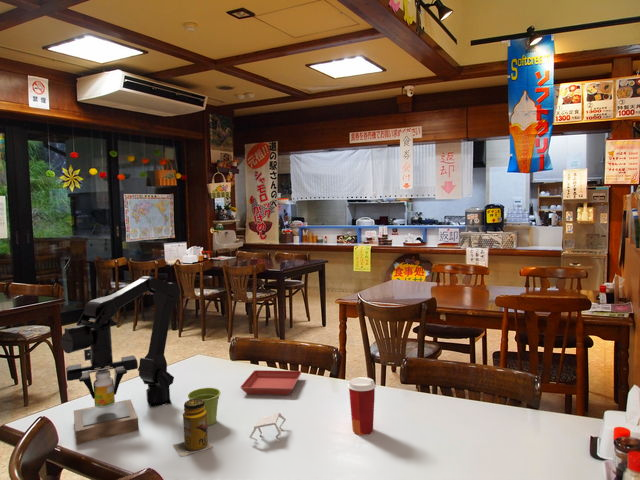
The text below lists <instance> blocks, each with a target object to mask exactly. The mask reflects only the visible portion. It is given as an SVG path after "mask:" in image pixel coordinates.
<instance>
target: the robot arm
mask: <svg viewBox="0 0 640 480" xmlns="http://www.w3.org/2000/svg"><path fill="white" fill-rule="evenodd" d="M147 292H148V293H149V294H152V295H153V296H152V301H153V303H154V307H155V313H154V317H153V325H152V330H151V334H150V339H149V340H150V341H149V346H148V352H147V354H145V356H144V357H141V358H140V359H139V365H138V359H137V357H136V356H135V355H126V356H122V357H120V360H119V361H114V360H113V359H114V358H113V343H112V328H113V327H114V326H115V327H116V326H117V325H118V323H117V322H116V321H114V320H113V319H112V318H113V317H114V316H115V315H117V314H118V312H119V310H120V309H121V308H122V307H123V306H125V305H127V304H128V303H130V302H133V300H135V299H137V298H139V297H141V296H142V295H144V294H145V293H147ZM180 296H181V287H180V286H179V285H178V284H177V283H176V282H168V281H164V280H161V279H158V278H156V277H154V276H148V275H147V276H146V275H145V276H141V277H140V278H138V279H137V280H135V281H134V282H131V283H130V284H128V285H126V286H125V287H123V288H121V289H119V290H117V291H116V292H114V293H112V294H109V295H107V296H100V297H98V298H95V299H94V298H93V299H92V300H89V301H87V303H86V304H85V305H84V310H83V312H82V313H81V316H80V318H79V319H78V321H77V323H76V326H72V327H70V326H69V327H66V328H64V333H63V334H61V335H62V336H61V339H60V346H61V348H62V350H63V352H64V353H66V354H71V353H75V352H79V351H81V350H83V352H84V354H83V355H84V361H85V362H86V361H90V365H89V366H82V364H81V363H79V364H73V365H68V366H67V367H66V368H65V372H66V381H67V382H71V381H77V380H78V382H81V383H84V385H85V386H86V388H87V389H88V391H89V394H90V395H91V398H92V399H93V400H94V386H93V383H92V380H91V374H92V373H96V372H98V371H104V370H109V371H111V370H114V371H113V373H114V379H113V381H114V396H115V395H117V392H118V390H119V389H118V388H119V386H120V383H121V381H122V379H123V377H124V375H125V374H128V371H133V370H137V371H138V376H139V378H140V379H141V380H142V382H143V384H144V385H147V389H146V390H145V392H146V403H147V404H148V405H149V407H150V408H154V407H155V408H156V407H160V406H165V405H169V404H172V401H171V394H170V392H171V390H170V387H171V385H172V384H173V383H174V380H175V379H174V378H175V376H173V375H172V374H171V373H170V372H169V371H168V363H167V360H166V356H165V351H166V345H167V339H168V334H169V327H170V322H171V314H172V310H173V309H174V308H175V306H176V305H177V304H178V301H179V298H180ZM111 327H112V328H111ZM90 373H91V374H90Z"/></svg>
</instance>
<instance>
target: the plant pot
mask: <svg viewBox="0 0 640 480" xmlns="http://www.w3.org/2000/svg"><path fill="white" fill-rule="evenodd" d="M221 393H222V392H221V390H220V389H219V388H215V387H202V388H201V387H200V388H196V389H194V390H191V391H190V392H189V393H188V394H187V398H188V400H191V399H202V400H203V401H204V402H205V410H206V414H207V426H212V425H213V424H215V423H216V421H217V414H218V413H217V412H218V404H219V403H218V402H219V400H220V395H221Z"/></svg>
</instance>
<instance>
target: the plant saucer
mask: <svg viewBox="0 0 640 480" xmlns="http://www.w3.org/2000/svg"><path fill="white" fill-rule="evenodd" d="M301 375H302V371H301V370H265V369H264V370H260V369H258V370H257V369H256V370H253V371H252V373H251V374H249V376H247V379H245V381H244V382H243V383H242V384H241V385H240V389H241V390H242V391H243V392H244V393H246V394H248V395H272V396H273V395H275V396H285V395H286V396H288V395H289V394H291V393H292V392H293V389H294V388H295V386H296V384H297V382H298V380H299V378H300V377H301Z"/></svg>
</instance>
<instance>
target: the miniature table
mask: <svg viewBox="0 0 640 480" xmlns="http://www.w3.org/2000/svg"><path fill="white" fill-rule="evenodd" d="M279 418H280V419H282V422H281V424H280V425H279V426H278V425H277V424H278V423H277V422H278V420H279ZM286 421H287V419H286V418H285V417H284V416H283V415H282V413H281V412H279V413H278V412H277V413H273V414H269V415H267V416H264V417H262V418H259V419H258V420H257V423H256V424H255V425H254V426H253V430H252V432H251V434H250V435H249V436H248V437H249V439H252V440H255V441H254V442H253V444H256V443H257V441H258V439H257V438H254V437H253V435H254V434H255V432H256V430H258V432H259V434H260V435H259V437H261V436H262V435H263V432H262V429H261V428H264V427H269V426H274V427H275V429H276V431H277V434H276V435H275V440H276V441H277V442H278V443H279V442H280V439H279V436H281V435H282V432H281V431H284V429H283V428H282V426H283V424H284V423H285V422H286Z"/></svg>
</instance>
